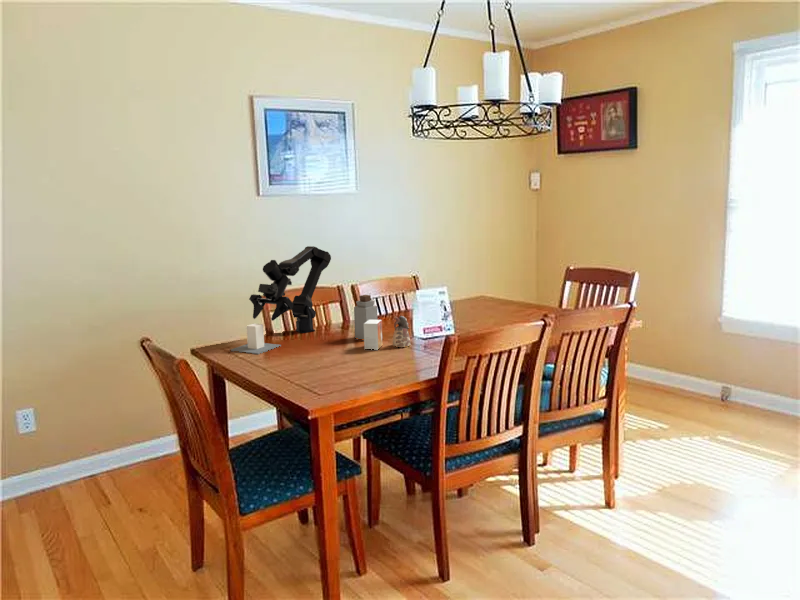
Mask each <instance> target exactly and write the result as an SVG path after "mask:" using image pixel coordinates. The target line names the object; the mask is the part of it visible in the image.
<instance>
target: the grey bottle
mask: <svg viewBox="0 0 800 600" xmlns="http://www.w3.org/2000/svg"><path fill="white" fill-rule="evenodd" d="M371 297H372V296H371V295H370V294H361V295H359V300H357V301H355V302H356V306H353V314H354V315H353V317H354V319H353V320H354V321H353V322H354V324H353V325H354V339H355V338H358V339H364V323H365V322H367V321H368V320H379V319H378V305H375V300H373V299H371ZM358 339H357V340H358Z"/></svg>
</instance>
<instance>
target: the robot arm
mask: <svg viewBox="0 0 800 600" xmlns="http://www.w3.org/2000/svg"><path fill="white" fill-rule="evenodd" d="M309 260H310V266H311V267H310V270H309V272H308V275H307V277H306V281H305V283H304V286H303V288H302V290H301V293H300V294H299V295H295V296H293V301H292V300H291V298H290V297H289V296H286V293H285V291H286V289H287V287H288V286H292V280H291V277H294V276H295V275H297V274H298V272H299V271H300V267H302V266H303V265H304V264H306V262H308V261H309ZM331 260H332V256H331V254H330V253H329V252H328V251H326V250H323V249H320V248H318V247H316V246H311V245H309V246H308V245H307V246H305V247H304V249H303V250H301V251H300V252H298V253H297V254H296V255H294V256H293V257H291V258H289V259H285V260H283V261H280V262H279V264H278V262H277V260H276V259H271V260H270V261H269V262H267V263H265V264H264V265H263V266H262V271H263V273H264V274H265V276H266V277H267V278H268V279H269V280H270V281H273V282H271V283H270V284H268V283H259V287H258V291H257V292H258V293H261V294H262V296H263V297H262V296H261V294H250V296H249V299H248V300H249V301H250V302H251V303H252V305H253V311H252V312H253V314H252V319H253V320H255V319H257V318H258V316H259V315H260V313H261V312H262V311H263V309H264V307H265V305H266V304H269V305H275V309H274V311H273V314H272V315H271V318H270V320H271V321H272V322H273V321H275V320H276V319H278V318H279V317H280V316H282V315H283V314H284V313H286V312H289V310H291V312H292V316H293V318H295V319H296V321H295V332H298V333H300V334H305V333H310V332H316V329H314V320H313V319H314V318H315V317H316V315H317V312H316V310H315V309H314V308H313V305H314V304H313V299H312V297H313V295H314V293H315V290H316V287H317V285H318V284H319V283H318V282H319V280H320V278H321V275H322V273H323V271H324V270H326V268H328V267H329V265H330V263H331ZM288 276H289V277H290V278H289V277H288Z"/></svg>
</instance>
